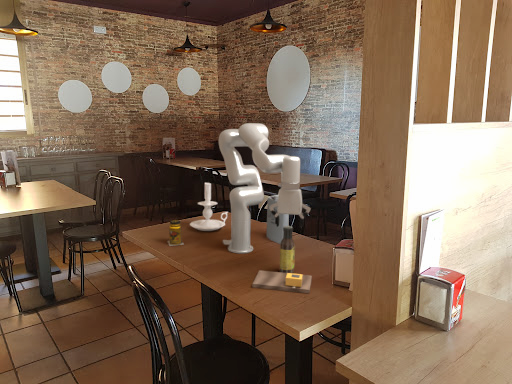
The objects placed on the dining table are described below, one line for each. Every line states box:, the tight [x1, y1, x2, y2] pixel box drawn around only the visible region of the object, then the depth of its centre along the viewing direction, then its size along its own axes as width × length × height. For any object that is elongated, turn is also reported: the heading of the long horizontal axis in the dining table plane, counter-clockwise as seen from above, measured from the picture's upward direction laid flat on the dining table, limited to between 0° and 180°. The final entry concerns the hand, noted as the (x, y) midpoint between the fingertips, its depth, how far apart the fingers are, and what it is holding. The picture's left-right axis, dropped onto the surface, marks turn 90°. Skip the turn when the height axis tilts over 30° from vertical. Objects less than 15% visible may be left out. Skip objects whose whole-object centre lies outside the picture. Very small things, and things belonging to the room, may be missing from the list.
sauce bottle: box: [279, 225, 296, 274], centre depth 166 cm, size 6×6×20 cm
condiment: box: [166, 219, 184, 247], centre depth 201 cm, size 7×8×12 cm
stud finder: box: [286, 272, 304, 287], centre depth 151 cm, size 6×5×3 cm
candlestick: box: [189, 182, 229, 232], centre depth 228 cm, size 21×25×28 cm
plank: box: [251, 270, 313, 294], centre depth 156 cm, size 22×14×2 cm, turn 79°
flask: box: [265, 194, 290, 245], centre depth 209 cm, size 17×5×25 cm, turn 30°
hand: (289, 226), depth 164 cm, fingers open, 9 cm apart
